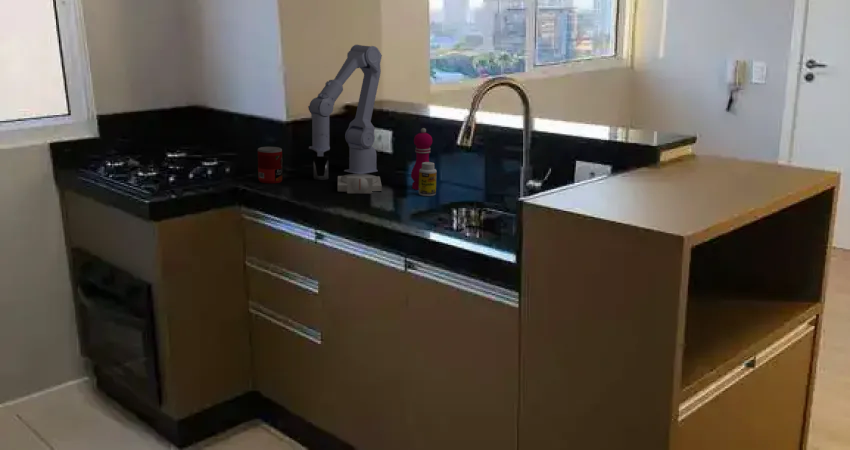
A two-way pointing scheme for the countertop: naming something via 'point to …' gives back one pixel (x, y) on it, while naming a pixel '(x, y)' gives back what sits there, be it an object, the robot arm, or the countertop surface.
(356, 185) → the scale
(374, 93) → the robot arm
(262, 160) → the canned food
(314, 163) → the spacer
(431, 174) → the supplement bottle
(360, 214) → the countertop surface
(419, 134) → the pepper mill
